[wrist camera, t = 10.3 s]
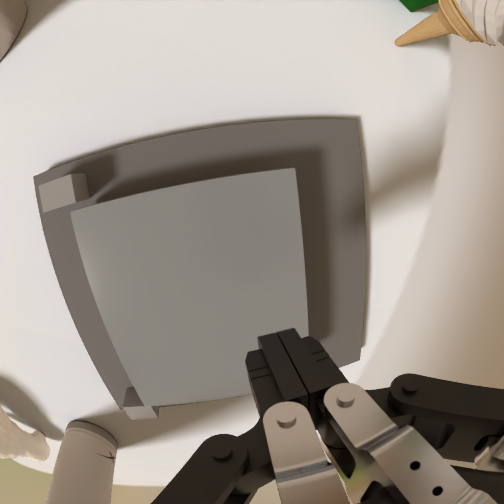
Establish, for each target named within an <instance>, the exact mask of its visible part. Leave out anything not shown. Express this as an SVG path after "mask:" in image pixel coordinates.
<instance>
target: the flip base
mask: <svg viewBox="0 0 504 504" xmlns="http://www.w3.org/2000/svg"><path fill="white" fill-rule="evenodd" d="M281 168H295V172H296V180H297V189H298V198H299V207H300V217H301V227H302V238H303V250H304V263H305V277H306V292H307V310H308V332H309V336H311V337H312V338H314V339H316V340H317V341H319V342H320V343H321V345H322V346H323V347H324V349H325V351H326V352H327V353H328V354H329V356H330V358H332V360H333V361H334V363H335V364H336V365H337V367H338V368H340V367H342V366H345V365H348V364H351V363H353V362H356V361H359V360H360V354H361V345H362V334H363V322H364V307H365V285H366V221H365V200H364V185H363V173H362V162H361V153H360V144H359V136H358V129H357V122H356V119H299V120H280V121H266V122H255V123H245V124H236V125H228V126H221V127H214V128H207V129H201V130H195V131H189V132H183V133H178V134H173V135H168V136H163V137H159V138H154V139H150V140H145V141H141V142H137V143H133V144H129V145H125V146H122V147H118V148H114V149H111V150H107V151H104V152H101V153H97V154H94V155H91V156H88V157H85V158H82V159H79V160H76V161H73V162H70V163H67V164H64V165H62V166H59V167H56V168H54V169H51V170H48V171H46V172H43V173H41V174H38V175H36V176H34V177H33V178H34V185H35V191H36V197H37V202H38V208H39V213H40V217H41V222H42V226H43V231H44V235H45V239H46V243H47V246H48V250H49V254H50V257H51V260H52V264H53V267H54V270H55V273H56V276H57V279H58V282H59V285H60V288H61V291H62V293H63V296H64V299H65V301H66V304H67V307H68V309H69V312H70V314H71V316H72V319H73V321H74V324H75V326H76V328H77V330H78V333H79V335H80V337H81V339H82V341H83V343H84V345H85V348H86V350H87V352H88V354H89V356H90V358H91V360H92V361H93V363H94V365H95V367H96V369H97V371H98V373H99V374H100V376H101V378H102V380H103V382H104V383H105V385H106V387H107V388H108V390H109V392H110V393H111V395H112V397H113V398H114V400H115V402H116V403H117V405H118V406H119V408H120V409H121V410H123V409H124V410H125V412H126V414H127V415H128V417H129V418H130V420H139V419H155V418H158V412H159V407H165V406H175V405H183V404H173V405H159V406H144V404H143V403H142V401H141V399H140V397H139V395H138V394H137V392H136V390H135V388H134V386H133V384H132V383H131V381H130V379H129V377H128V375H127V373H126V371H125V369H124V367H123V365H122V363H121V361H120V359H119V356H118V354H117V352H116V350H115V348H114V346H113V343H112V341H111V339H110V337H109V334H108V332H107V329H106V327H105V325H104V322H103V320H102V317H101V315H100V312H99V309H98V307H97V304H96V301H95V299H94V296H93V293H92V290H91V287H90V284H89V281H88V278H87V275H86V272H85V268H84V265H83V262H82V258H81V255H80V251H79V248H78V244H77V240H76V236H75V232H74V228H73V224H72V219H71V215H70V212H71V211H74V210H77V209H80V208H83V207H86V206H89V205H93V204H96V203H100V202H104V201H108V200H112V199H116V198H120V197H124V196H128V195H132V194H136V193H140V192H145V191H149V190H154V189H159V188H163V187H168V186H173V185H178V184H183V183H188V182H194V181H199V180H205V179H211V178H217V177H223V176H229V175H236V174H242V173H249V172H257V171H264V170H272V169H281ZM203 402H204V401H203ZM194 403H198V402H194ZM185 404H190V403H185Z"/></svg>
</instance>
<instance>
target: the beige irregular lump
mask: <svg viewBox="0 0 504 504" xmlns="http://www.w3.org/2000/svg"><path fill="white" fill-rule="evenodd" d="M37 429H38V428H37ZM38 431H39V429H38ZM38 431H36V430H35V431H34V432H33V433H28V432H26V431H23V430H22V429H21V428H19V426H18V425H17V424H16V423H14V422H13V421H11V420H10V419H9V417H8V415H7V414H6V413H5V412H4V410H3V409H2V408H1V407H0V458H2V459H3V458H4V459H6V458H9V457H10V458H16V457H27V458H30V459H32V460H36V461H45V460H46V459H47V458H48V457H49V453H50V447H49V445H48V444H47V442H46V439H45V436H44V434H42V433H41V432H40V431H39V432H38Z"/></svg>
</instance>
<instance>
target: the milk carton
mask: <svg viewBox="0 0 504 504" xmlns="http://www.w3.org/2000/svg"><path fill="white" fill-rule="evenodd" d="M399 1H401V2H402V3H403V4H404V5H405V6H406V7H407V8H408V9H409V11H410V12H412V11H415V10H417V9H420V8H423V7H426V6H429V5H432V4H435V3H438V2H439V1H438V0H399Z"/></svg>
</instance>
